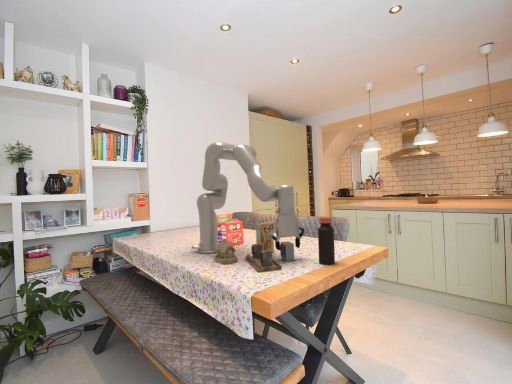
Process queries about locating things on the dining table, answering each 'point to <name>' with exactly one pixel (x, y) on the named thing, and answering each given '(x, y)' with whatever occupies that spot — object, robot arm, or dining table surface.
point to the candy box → (265, 235)
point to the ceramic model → (225, 253)
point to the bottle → (326, 241)
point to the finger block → (287, 251)
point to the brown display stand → (262, 259)
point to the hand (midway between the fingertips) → (288, 248)
